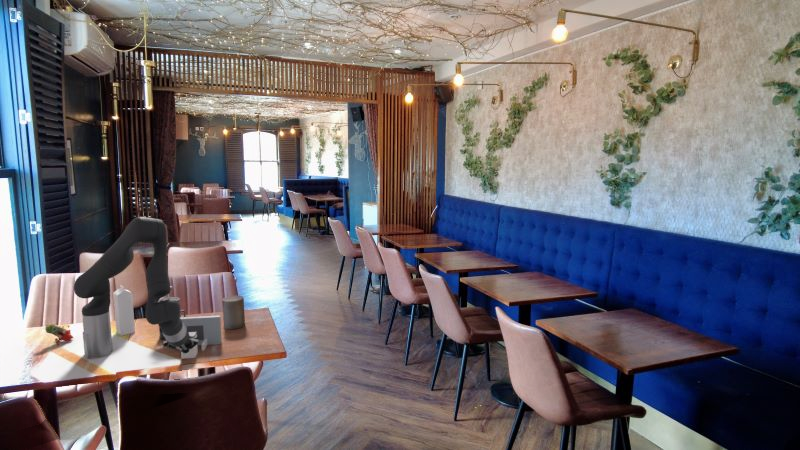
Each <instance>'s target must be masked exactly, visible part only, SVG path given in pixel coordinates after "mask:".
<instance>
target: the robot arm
mask: <svg viewBox="0 0 800 450" xmlns="http://www.w3.org/2000/svg"><path fill="white" fill-rule="evenodd" d="M167 234H168V233H167V227H166V224H165V222H164V221H163V220H162V219H160V218H155V217H154V218H152V217H145V216H136V217H135V218H133V219H132V220H131V221H130V222H129V223H128V225H127V227H126V228H125V229H124V231H123V232H122V234H121V235H120V236H119V237H118V238H117V240H115V242H114V243H113V244H112V245H111V246H110V247H109V248H108V249H107V250H106V251H105V252H104V253H103V254H102V255H101V256H100V257H99V259H98V260H96V261H95V262H94V264H93V265H92V266H90V267H89V269H87V270H86V271H84V272H83V273H82V274H80V275H79V276H78V277H77V278H76V280H75V281H74V284H73V292H74V294H75V295H76V296H77V297H78V298H79V299H80V298H81V299H90V298H91V300H90V301H89V302H88V303H87V304H85V305H84V306H82V308H81V317H82V326H83V331H82V340H83V349H84V355H85V358H86V359H95V358H101V357H105V356H109V355H110V354H112V353H113V340H112V339H113V338H112V327H111V325H112V324H111V314H110V313H111V312H110V306H111V283H110V282H111V281H110V279H111V278H114V277H116V276H118V275H120V274H121V273H122V272H123V271H125V270H126V269H127V268H128V267H129V266H130V265H131V264H132V262H133V260H134V256H135V253H134V250H133V247H134V246H135V245H136V244H138V243H140V244H150V245H152V246H153V255H152V258H151V259H150V262H149V263H148V266H147V267H146V270H145V283H146V288H147V289H146V290H147V302H146V307H145V312H144V313H145V319H146V321H147V322H148V323H149V324H150V325H152V326H153V325H157V326H158V328H160V329H161V331H162V333H163V336H164V337H165V339H164V340H163V342H162V347H165V348H168V349H171V350H173V351H176V350H179V351H180V353H181V352H183V353H188V352H189V349H192V348H193V347H194V346H196V345H197V344H198V337H196V338H192V337H191V336H189V333H188V331H187V329H186V327H185V325H184V323H183V322H182V321H181V319H180V309H181V304H180V302H179V303H178V301H176V300H174V299H168V300H165V301H161V302H158V300H160V299H163V298H165V297H167V296H168V294H169V295H170V294H171V290H172V288H171V287H170V286H171V283H170V281H171V280H170V277H169V271H168V263H167V262H168V259H167V257H168V256H167V255H168V249H167V248H168V245H167V244H168V243H167V240H168V238H167V237H168V236H167ZM173 346H174V347H173ZM197 346H198V345H197Z"/></svg>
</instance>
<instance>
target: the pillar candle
mask: <svg viewBox="0 0 800 450" xmlns="http://www.w3.org/2000/svg"><path fill="white" fill-rule="evenodd" d="M221 301H222V316H223V317H222V319H223V328H224V329H225V330H238V329H241V328H243V327H245V325H246V322H245V321H246V320H245V318H246V316H245V300H244V296H243V295H230V296H229V295H228V296H226V297H223V298H222V299H221Z"/></svg>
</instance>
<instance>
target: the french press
mask: <svg viewBox="0 0 800 450" xmlns="http://www.w3.org/2000/svg"><path fill="white" fill-rule="evenodd" d="M170 287H171V289H172V288H174V286H173V285H170ZM168 299H174V300H176V301H178V303H179V304H180V300H181V298H180V297H178V296H175V297H174V296H170V293H169V294H168V295H167V297H162V298H161V299H159V300H158V302H161V301H165V300H168ZM182 312H183V317H187V315H186V309H181V308H180V318H181V317H182ZM158 328H159V327H158ZM158 330H159V337H158V338H159V340H162V341H164V339H165V337H164V336H163V333H162V331H161V329H160V328H159V329H158Z"/></svg>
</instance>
